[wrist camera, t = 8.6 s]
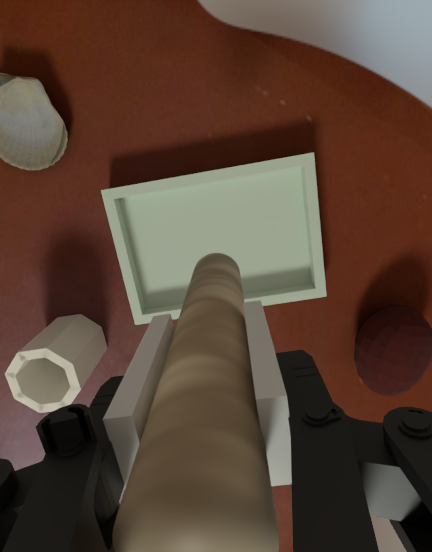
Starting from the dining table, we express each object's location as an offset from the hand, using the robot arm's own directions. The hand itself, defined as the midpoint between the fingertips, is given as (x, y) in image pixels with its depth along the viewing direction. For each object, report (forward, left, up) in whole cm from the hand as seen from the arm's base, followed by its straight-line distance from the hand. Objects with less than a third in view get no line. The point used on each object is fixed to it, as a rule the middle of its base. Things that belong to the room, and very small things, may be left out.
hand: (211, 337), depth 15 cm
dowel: (0, 0, -9) cm, 9 cm away
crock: (-18, -9, -23) cm, 30 cm away
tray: (0, 0, -23) cm, 23 cm away
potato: (+16, -14, -23) cm, 31 cm away
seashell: (-16, +14, -23) cm, 31 cm away
